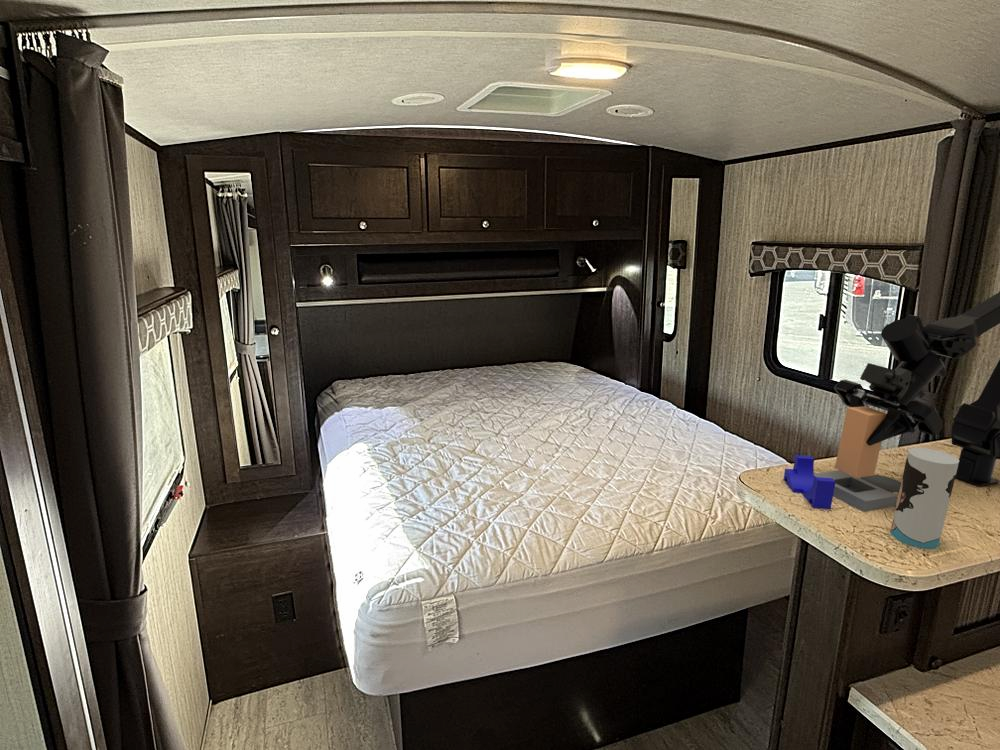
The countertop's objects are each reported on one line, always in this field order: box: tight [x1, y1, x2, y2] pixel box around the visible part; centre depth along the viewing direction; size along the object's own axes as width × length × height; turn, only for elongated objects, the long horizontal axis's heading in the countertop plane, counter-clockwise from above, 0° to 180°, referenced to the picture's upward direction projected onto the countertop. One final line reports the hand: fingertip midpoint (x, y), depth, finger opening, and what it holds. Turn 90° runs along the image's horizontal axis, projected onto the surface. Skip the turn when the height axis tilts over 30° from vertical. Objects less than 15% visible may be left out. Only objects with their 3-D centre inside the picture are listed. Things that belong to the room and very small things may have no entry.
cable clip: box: [783, 454, 836, 510], centre depth 115 cm, size 12×4×6 cm, turn 172°
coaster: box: [859, 474, 902, 493], centre depth 122 cm, size 8×8×1 cm
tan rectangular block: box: [834, 406, 887, 478], centre depth 113 cm, size 5×5×12 cm
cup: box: [890, 447, 959, 550], centre depth 99 cm, size 7×7×15 cm
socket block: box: [814, 469, 898, 512], centre depth 116 cm, size 8×12×2 cm, turn 20°
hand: (855, 439), depth 113 cm, fingers closed on tan rectangular block, 5 cm apart
